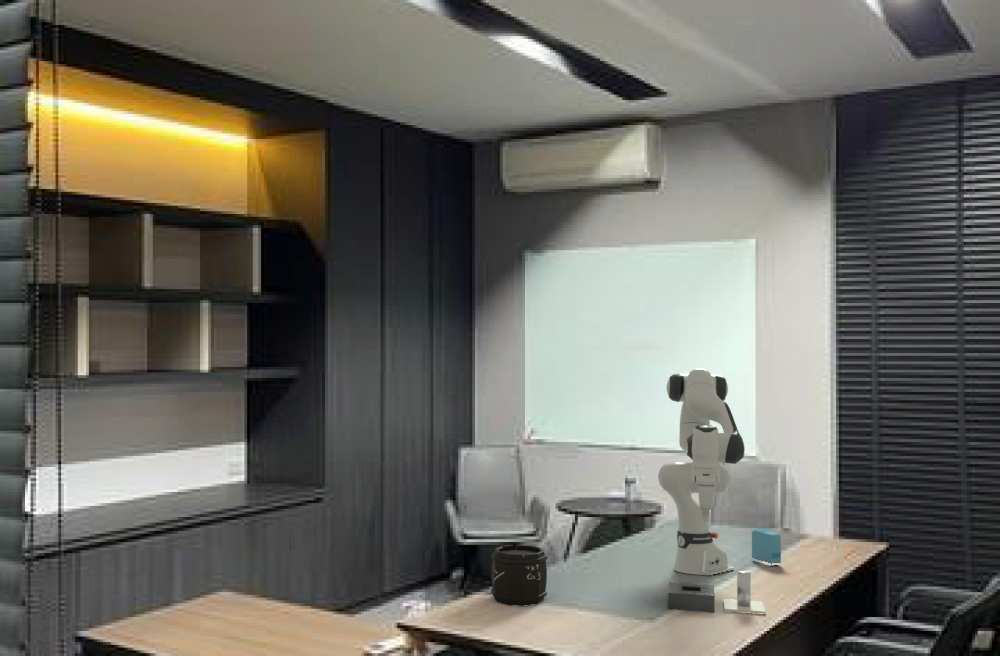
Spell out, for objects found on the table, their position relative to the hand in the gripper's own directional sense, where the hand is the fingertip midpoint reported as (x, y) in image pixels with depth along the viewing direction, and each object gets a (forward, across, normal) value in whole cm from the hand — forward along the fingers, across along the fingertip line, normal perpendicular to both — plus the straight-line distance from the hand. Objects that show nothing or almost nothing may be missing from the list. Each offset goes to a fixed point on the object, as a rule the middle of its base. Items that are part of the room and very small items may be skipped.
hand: (705, 518), depth 298 cm
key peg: (+25, +8, +12) cm, 28 cm away
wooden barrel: (+26, +14, -58) cm, 65 cm away
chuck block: (+26, +8, -4) cm, 27 cm away
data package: (+28, -59, +24) cm, 70 cm away
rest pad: (+26, +8, +12) cm, 29 cm away
